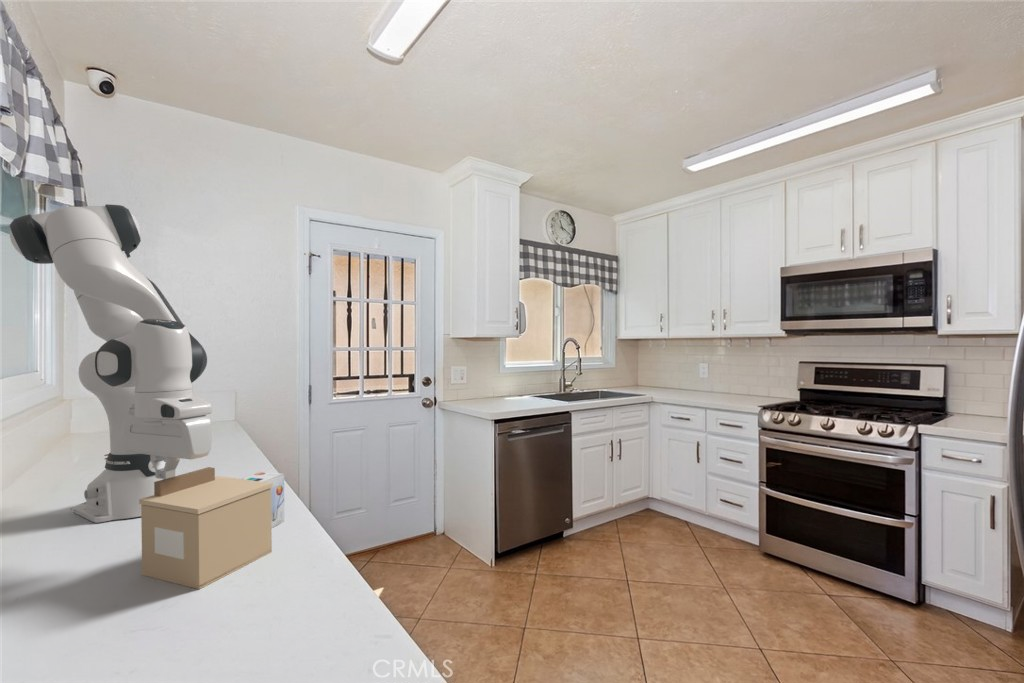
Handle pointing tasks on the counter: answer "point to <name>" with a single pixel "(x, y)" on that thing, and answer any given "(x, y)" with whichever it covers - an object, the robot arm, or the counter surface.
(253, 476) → the light bulb box
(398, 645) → the counter surface
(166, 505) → the carton lid
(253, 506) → the carton
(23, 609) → the counter surface
